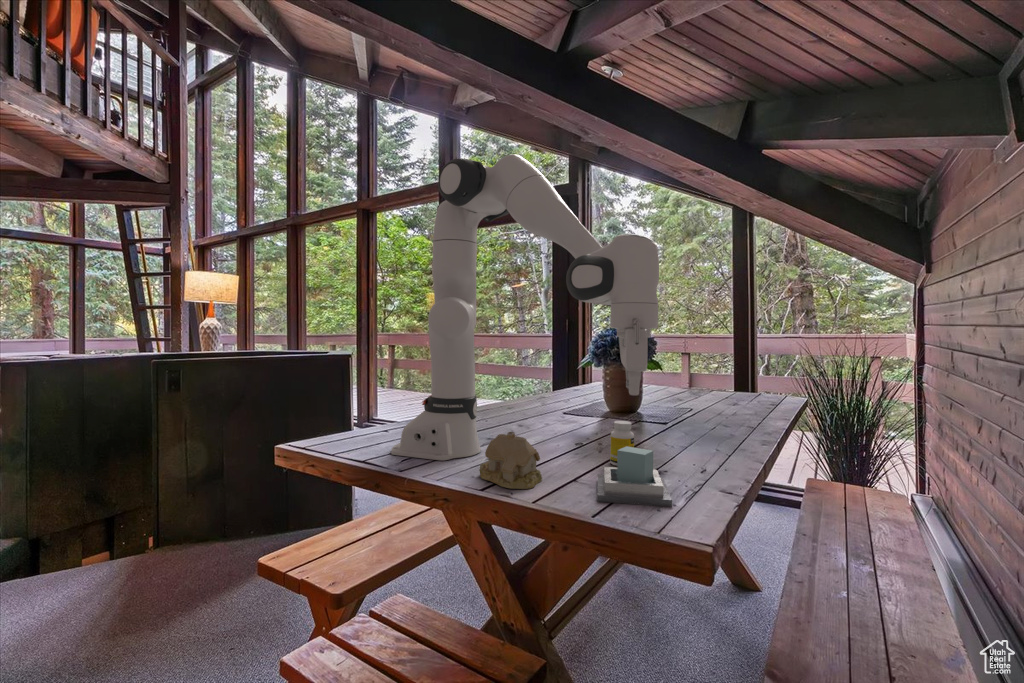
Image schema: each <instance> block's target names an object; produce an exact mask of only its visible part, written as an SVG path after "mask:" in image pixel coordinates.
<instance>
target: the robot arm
mask: <svg viewBox="0 0 1024 683" xmlns="http://www.w3.org/2000/svg"><path fill="white" fill-rule="evenodd" d="M437 187H438V190H439V194H440V195H441V197H442V198H443V199H444V201H442V202H440V203H439V205H438V207H437V210H436V213H435V220H434V226H433V227H434V228H433V234H432V236H433V238H432V240H433V242H432V279H433V281H432V283H433V295H434V296H433V297H434V299H433V300H434V304H433V305H432V306H431V308H430V310H429V314H428V317H427V320H428V321H427V324H428V339H429V351H430V352H429V353H430V364H431V370H430V371H431V376H430V377H431V382H430V383H431V386H430V387H431V392H430V393H431V395H428V396H427V397H426V398H425V399H423V400H422V403H421V405H422V406H423V408H424V410H423V411H422V412H420V413H419V414H418V415H416V416H415V418H413V419H412V420H410V421H409V422H408V423H406V425H405V426H404V428H402V432H401V437H400V442H398V443H396V444H395V445H394V446H393V447H392V448H391V451H390V452H391V453H390V454H391V455H392V456H400V457H409V458H417V459H427V460H434V461H447V460H452V459H458V458H465V457H471V456H475V455H478V454H479V453H480V452H482V448H481V445H480V440H479V436H478V429H477V421H476V420H477V419H476V418H477V415H478V401H477V400H478V399H477V395H476V361H475V360H476V357H475V356H476V355H475V329H476V326H477V260H478V259H477V255H478V254H477V253H478V250H477V249H478V226H479V224H480V222H481V221H482V220H483V221H485V222H487V223H491V222H493V221H494V220H496V219H499V218H502V217H505V216H508V215H509V214H510V216H511V217H512V218H513V220H514V221H515V222H516V223H517V224H518V225H520V226H521V227H522V228H523V229H524V230H526V231H527V232H529V233H530V234H532V235H536V236H538V237H541V238H543V239H545V240H546V239H547V240H548V241H551V242H553V243H555V244H557V245H559V246H560V247H562V248H564V249H565V250H567V252H568V253H570V254H571V255H572V257H573V258H574V260H573V261H572V262H571V263H570V265H569V266H568V269H567V271H566V277H565V281H566V282H565V283H566V287H567V291H568V292H569V294H570V295H571V297H572V298H574V299H576V300H578V301H580V302H583V303H589V304H594V305H603V306H606V307H608V308H609V307H610V321H609V324H610V325H609V326H610V329H616V337H617V338H618V343H619V344H618V346H619V354H620V355H619V356H620V361H621V362H620V363H621V364H622V366H623V367H624V369H625V380H626V381H625V388H626V389H627V390H628V394H629V396H638V395H640V388H641V385H640V384H641V378H642V372H643V373H644V372H646V371H647V368H648V356H649V355H648V349H649V348H648V343H649V342H648V338H651V336H652V330H654V329H655V330H656V329H657V330H658V329H659V328H658V327H659V299H658V296H657V295H658V294H657V290H658V286H659V283H660V260H659V250H658V246H657V243H656V242H655V240H653V239H652V238H650V237H648V236H645V235H641V234H636V233H621V234H618V235H615V237H614V238H613V239H612V241H610V242H609V243H607V244H606V245H605V246H604V245H603V244H602V243H601V242H600V241H599V240H598V239H597V237H595V236H594V235H593V234H592V233H591V232H590V231H589V229H588V228H587V227H586V226H585V225H584V224H583V223H582V222H581V220H579V218H578V217H577V216H576V215H575V213H574V212H573V211H572V210H571V208H570V207H569V206H568V205H567V203H566V202H565V201H564V199H563V198H562V197H561V195H560V194H559V193H558V191H557V190H556V189H555V187H554V186H553V185H552V184H551V182H550V181H549V180H548V179H547V178H546V177H545V175H544V174H543V173H542V172H541V171H540V170H539V169H538V168H537V167H535V165H533V164H532V163H531V162H530V161H528V160H527V159H525V158H524V157H523V156H521V155H519V154H516V153H515V154H512V153H511V154H508V155H505V156H503V157H501V158H500V159H499V160H498V161H496V162H495V164H494V165H493V166H488V165H484V164H483V163H482V162H481V161H477V160H472V159H467V158H453V159H451V160H449V161H447V162H446V163H445V164H444V166H443V167H442V169H441V170H440V173H439V176H438V186H437Z"/></svg>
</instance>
